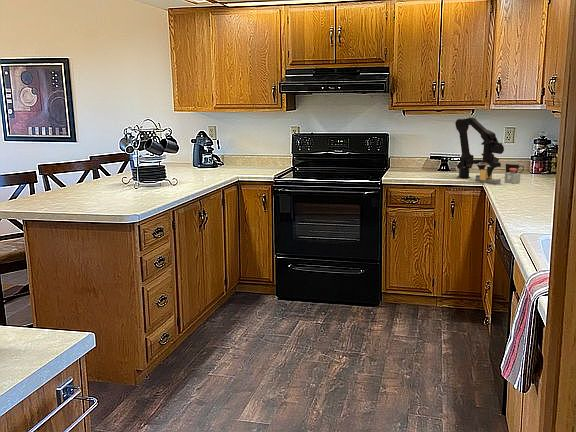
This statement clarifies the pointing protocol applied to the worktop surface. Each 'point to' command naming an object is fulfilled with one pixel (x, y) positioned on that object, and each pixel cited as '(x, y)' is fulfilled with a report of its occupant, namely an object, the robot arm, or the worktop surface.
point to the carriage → (484, 174)
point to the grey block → (512, 178)
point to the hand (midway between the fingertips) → (485, 176)
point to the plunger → (513, 170)
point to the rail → (489, 180)
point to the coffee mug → (512, 165)
